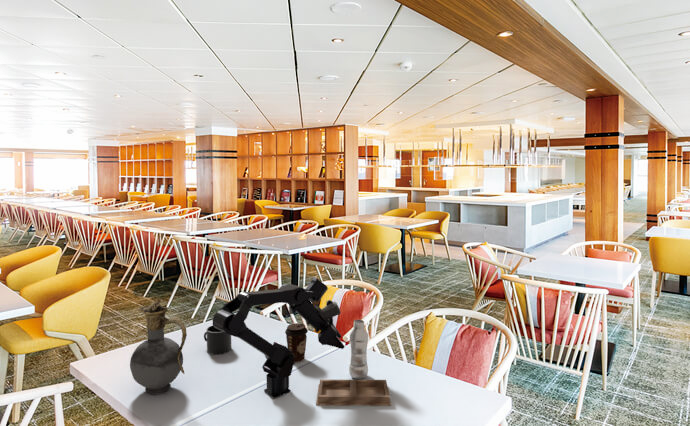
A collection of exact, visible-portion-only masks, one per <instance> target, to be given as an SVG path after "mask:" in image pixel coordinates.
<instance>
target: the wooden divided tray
mask: <svg viewBox="0 0 690 426" xmlns="http://www.w3.org/2000/svg"><path fill="white" fill-rule="evenodd" d="M315 405H316V406H351V405H369V406H373V407H374V406H377V407H378V406H381V407H384V406H385V407H387V406H388V407H389V406H390V407H391V406H392V402H391V397H390V393H389V388H388V384H387V379H319V384H318V386H317V395H316V402H315Z"/></svg>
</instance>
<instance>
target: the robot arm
mask: <svg viewBox="0 0 690 426" xmlns="http://www.w3.org/2000/svg"><path fill="white" fill-rule="evenodd" d="M328 289H329V288H328V285H326V284H325V283H324V282H323V281H321V280H319V278H316V277H313V278H312V279H311V281H310V283H308V285H307V286H306V287H305V288H304V287H302V286H299V285H295V284H291V283H289V284H286V285H281V286H280V287H279V288H276V289H265V290H255V291H241V292H238V294H237V295H236V296H235V297H234V298H232V299H231V300H229V301H228V302H226V303H225V304H224V305H223V306H222V307H221V308H220V309H219V310H218V311H217V312H216V313H214V316H213V318H212V326H214V327H215V328H217V329H219V330H221V331H223V332H225V333H227V334H229V335H231V337H236V338H238V339H240V340H241V341H242V342H244V343H246V344H248V345H249V346H250V347H252V348H254V349H255V350H256V351H258V352H260V353H261V354H263V355H264V357H265V359H266V360H265V362H264V363H263V365H262V366H261V368H262V370H263V372H265V373H266V388H265V389H263V391H264V393H266V394H267V395H269V396H270V397H271V398H273V399H277V398H279V397H282V396H284V395H287V394H289V393H291V389H290V376H291V375H292V372H293V368H294V364H295V362H294V358H295V356H294V355H293V354H292V352H293V351H292V350H289V349H288V347H287V345H283V344H282V343H279V342H278V341H274V342H273V343H271V342H269V341H268V340H266V339H265V338H264V337H262V336H261V335H259V334H258V333H256V332H255V331H254V330H252V329H250V328H249V327H248V326H247V324H246V322H245V321H246V320H247V318H248V316H249V313H250V310H251V309H252V307H255V306H262V305H263V306H264V305H271V304H280V303H283V304H288V305H289V306H288V309H289V310H288V314H289V315H294V314H295V313H297V314H298V315H299V316H300V317H301V318H302V319H304V321H305V322H306V325H308V326H309V325H310V326H311V327H312V329H314V331H315V333H317V339H318V343H320V344H321V346H325V345H326V346H329V347H334V348H337V349H341V350H344V348H345V347H346V346H345V345H344V344H343V342H342V341H341V338H342V335H341V332H339V330H338V329H337V328H336V326H335V324H334V319H333V318H334V317H336V316H340V315H341V313H342V311H341V309H340V307H339V305H338V302H336V301H333V300H331V299H329V300H326V301H325V302H326V304H325V306H324V307H322V308H321V307H320V306H316V305H315V304H314V303H319V302H320V300H321V299H322V298H323V296H324V295H325V294H326V292H327V291H328ZM237 310H238V311H237ZM235 311H237V312H236V313H233V312H235Z"/></svg>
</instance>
